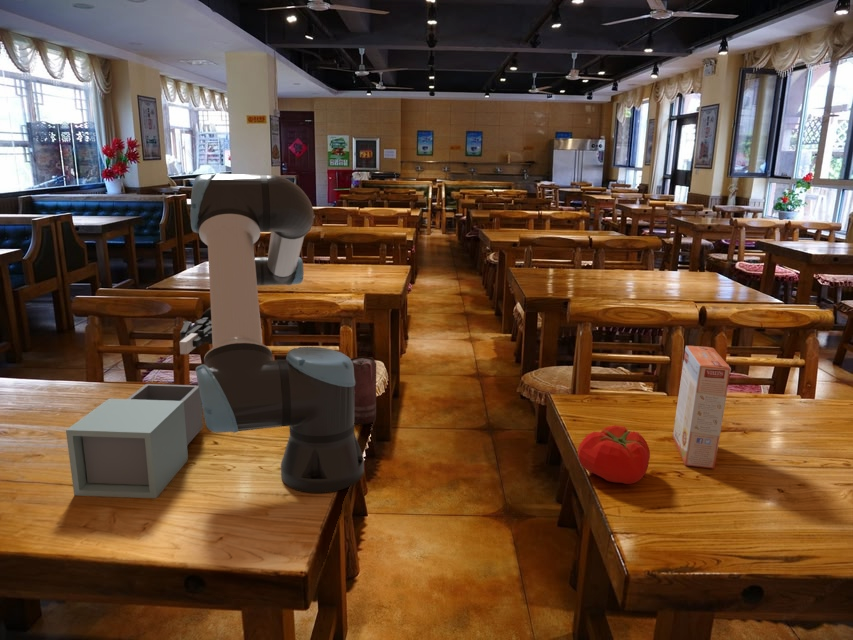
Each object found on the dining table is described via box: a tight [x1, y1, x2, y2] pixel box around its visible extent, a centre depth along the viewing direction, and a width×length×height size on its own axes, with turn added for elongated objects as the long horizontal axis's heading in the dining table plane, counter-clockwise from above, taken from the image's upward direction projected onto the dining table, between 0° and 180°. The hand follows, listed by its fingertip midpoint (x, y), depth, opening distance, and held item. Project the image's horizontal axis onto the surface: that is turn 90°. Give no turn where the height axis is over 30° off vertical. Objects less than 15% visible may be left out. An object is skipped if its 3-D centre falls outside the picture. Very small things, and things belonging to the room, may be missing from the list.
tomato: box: [577, 425, 651, 485], centre depth 117 cm, size 14×13×9 cm
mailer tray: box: [82, 383, 204, 485], centre depth 119 cm, size 24×11×9 cm, turn 179°
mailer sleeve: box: [65, 398, 189, 499], centre depth 113 cm, size 14×14×12 cm
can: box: [350, 356, 377, 426], centre depth 139 cm, size 6×6×14 cm
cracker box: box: [672, 345, 732, 469], centre depth 127 cm, size 14×6×21 cm, turn 168°
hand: (183, 348), depth 135 cm, fingers closed
